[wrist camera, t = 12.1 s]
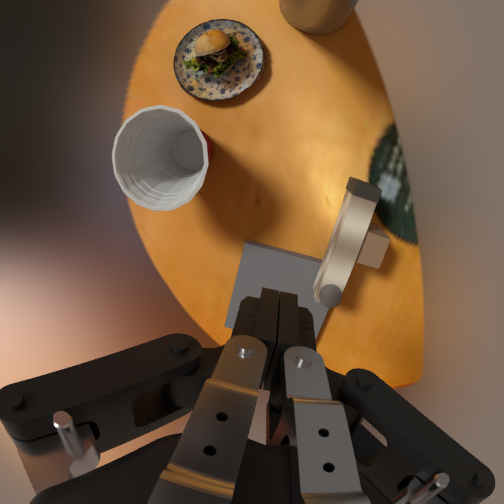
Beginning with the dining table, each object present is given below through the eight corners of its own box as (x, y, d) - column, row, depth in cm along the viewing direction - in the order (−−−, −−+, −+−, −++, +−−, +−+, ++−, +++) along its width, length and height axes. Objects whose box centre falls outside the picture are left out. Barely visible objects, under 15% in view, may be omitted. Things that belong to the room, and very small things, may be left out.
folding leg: (333, 291, 43) (338, 310, 38) (312, 286, 43) (314, 304, 38) (372, 184, 37) (384, 191, 32) (349, 176, 37) (358, 182, 32)
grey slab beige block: (258, 190, 40) (254, 199, 35) (377, 225, 40) (390, 239, 35) (226, 321, 48) (218, 344, 43) (327, 345, 48) (330, 370, 42)
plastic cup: (139, 147, 40) (91, 155, 29) (197, 95, 36) (163, 82, 25) (185, 206, 42) (150, 233, 31) (247, 158, 39) (231, 168, 28)
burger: (169, 97, 37) (146, 91, 30) (186, 20, 33) (168, 1, 26) (257, 108, 37) (251, 103, 30) (274, 28, 32) (271, 7, 25)
